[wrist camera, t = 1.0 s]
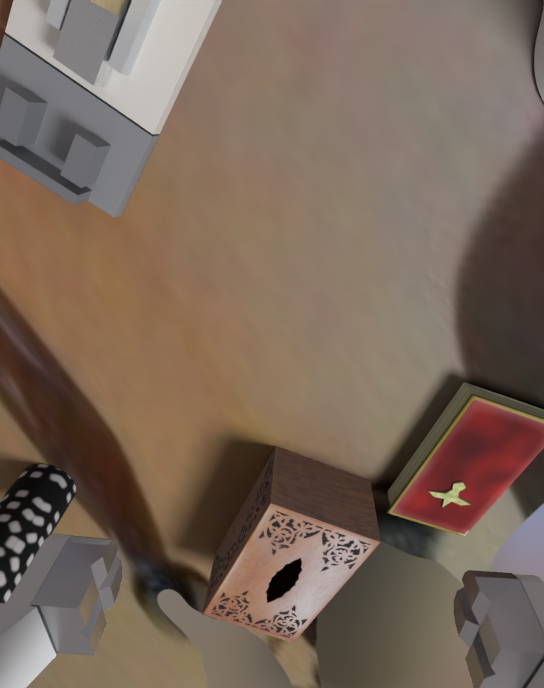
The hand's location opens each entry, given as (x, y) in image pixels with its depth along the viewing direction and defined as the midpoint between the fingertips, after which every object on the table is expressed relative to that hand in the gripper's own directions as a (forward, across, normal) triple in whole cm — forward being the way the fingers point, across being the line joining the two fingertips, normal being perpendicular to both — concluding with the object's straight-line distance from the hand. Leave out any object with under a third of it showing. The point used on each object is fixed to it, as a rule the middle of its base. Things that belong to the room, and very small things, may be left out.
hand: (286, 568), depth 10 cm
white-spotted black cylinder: (+38, +36, +42) cm, 67 cm away
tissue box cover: (+38, -1, +46) cm, 59 cm away
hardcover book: (+38, -23, +30) cm, 54 cm away
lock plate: (+38, +19, -12) cm, 44 cm away
